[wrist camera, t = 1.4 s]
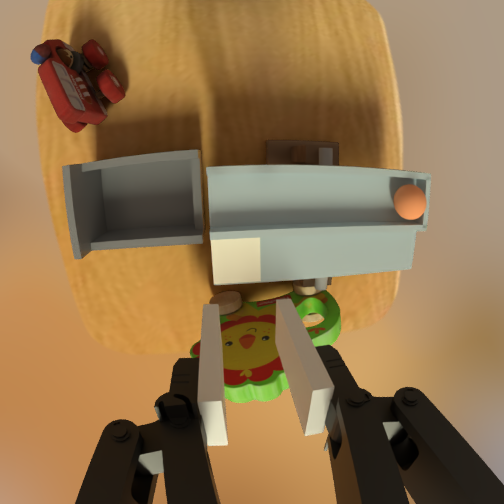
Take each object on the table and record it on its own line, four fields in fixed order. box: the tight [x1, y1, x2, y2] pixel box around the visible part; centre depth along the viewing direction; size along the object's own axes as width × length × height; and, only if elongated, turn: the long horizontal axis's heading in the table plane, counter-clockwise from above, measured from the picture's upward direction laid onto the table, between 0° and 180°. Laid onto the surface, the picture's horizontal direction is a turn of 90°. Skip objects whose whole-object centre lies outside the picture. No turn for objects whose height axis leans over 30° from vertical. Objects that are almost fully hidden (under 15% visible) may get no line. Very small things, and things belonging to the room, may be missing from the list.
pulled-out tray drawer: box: [62, 149, 205, 259], centre depth 26 cm, size 9×12×8 cm
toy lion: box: [190, 280, 341, 403], centre depth 28 cm, size 16×5×15 cm, turn 101°
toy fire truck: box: [31, 39, 125, 133], centre depth 20 cm, size 7×12×10 cm, turn 28°
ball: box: [394, 184, 427, 220], centre depth 23 cm, size 3×3×3 cm
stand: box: [266, 140, 339, 287], centre depth 29 cm, size 15×8×6 cm, turn 1°
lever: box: [206, 148, 431, 290], centre depth 24 cm, size 13×20×3 cm, turn 91°
